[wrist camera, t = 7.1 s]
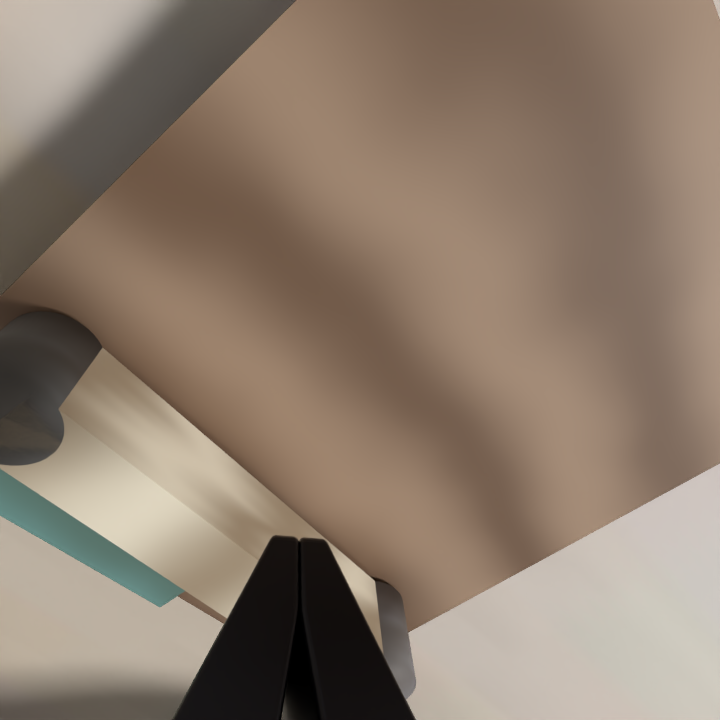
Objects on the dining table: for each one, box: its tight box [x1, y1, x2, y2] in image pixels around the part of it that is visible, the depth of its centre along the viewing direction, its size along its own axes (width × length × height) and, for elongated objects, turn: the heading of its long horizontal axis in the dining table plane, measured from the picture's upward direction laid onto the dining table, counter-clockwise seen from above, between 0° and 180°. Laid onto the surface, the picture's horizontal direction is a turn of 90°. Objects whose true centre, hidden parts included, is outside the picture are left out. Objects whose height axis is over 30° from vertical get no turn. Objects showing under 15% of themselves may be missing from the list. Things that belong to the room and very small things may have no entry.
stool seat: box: [0, 0, 720, 632], centre depth 17 cm, size 24×20×4 cm
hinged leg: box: [0, 311, 416, 699], centre depth 17 cm, size 18×3×3 cm, turn 36°
